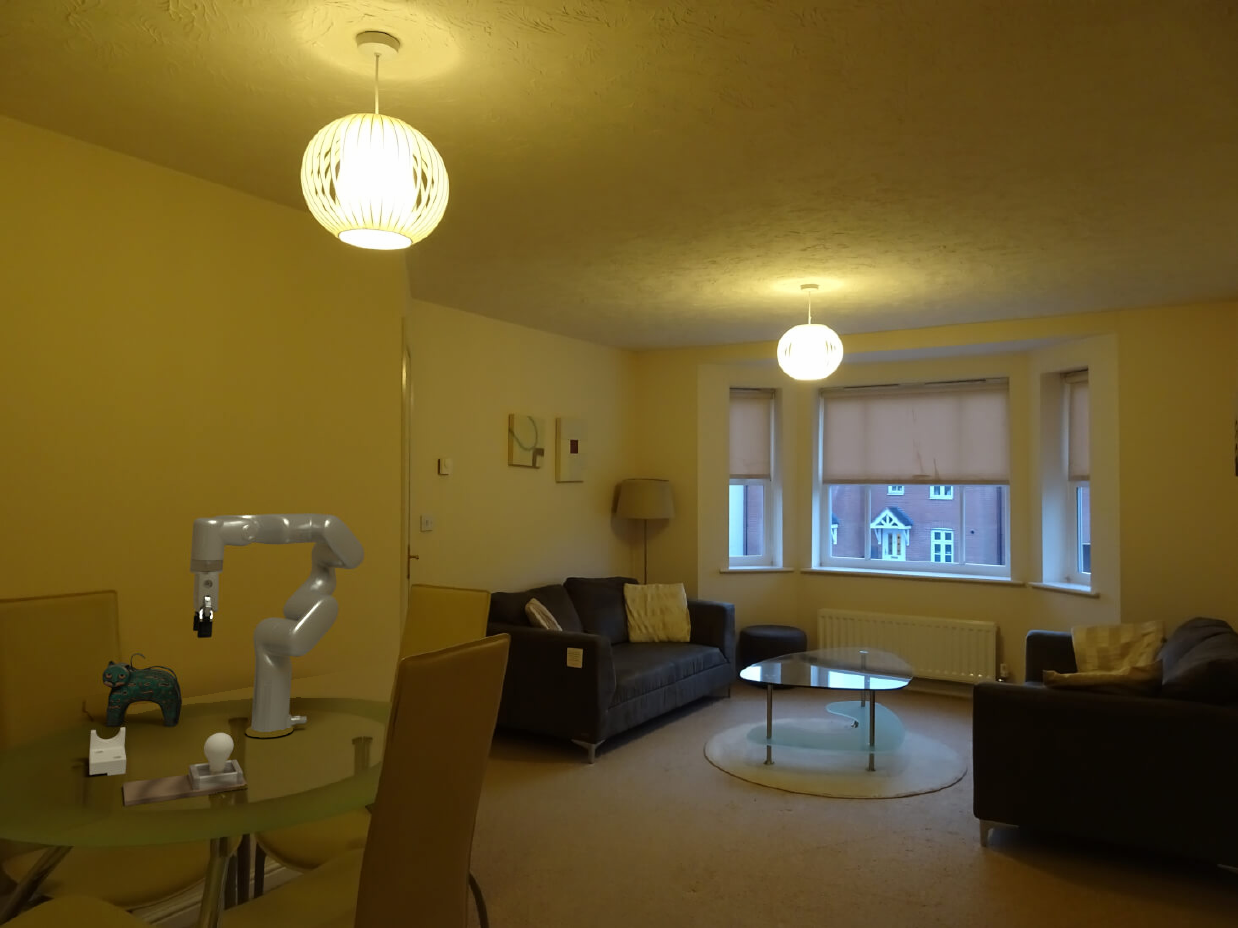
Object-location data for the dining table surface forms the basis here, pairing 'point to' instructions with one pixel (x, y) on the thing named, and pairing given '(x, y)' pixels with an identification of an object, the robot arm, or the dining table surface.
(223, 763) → the lightbulb
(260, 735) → the dining table surface
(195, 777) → the wooden board with tray
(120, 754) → the bracket
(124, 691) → the ceramic cat
